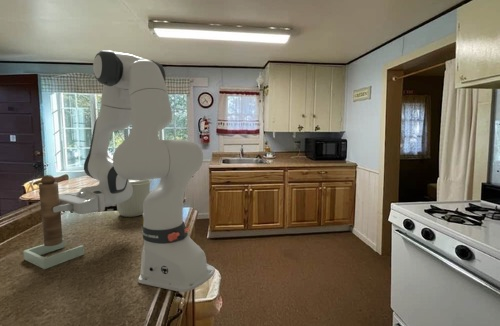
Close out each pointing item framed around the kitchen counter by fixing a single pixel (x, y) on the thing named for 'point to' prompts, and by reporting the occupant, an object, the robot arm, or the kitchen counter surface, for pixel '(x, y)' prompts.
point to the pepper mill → (50, 211)
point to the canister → (135, 199)
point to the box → (35, 252)
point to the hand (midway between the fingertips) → (47, 208)
